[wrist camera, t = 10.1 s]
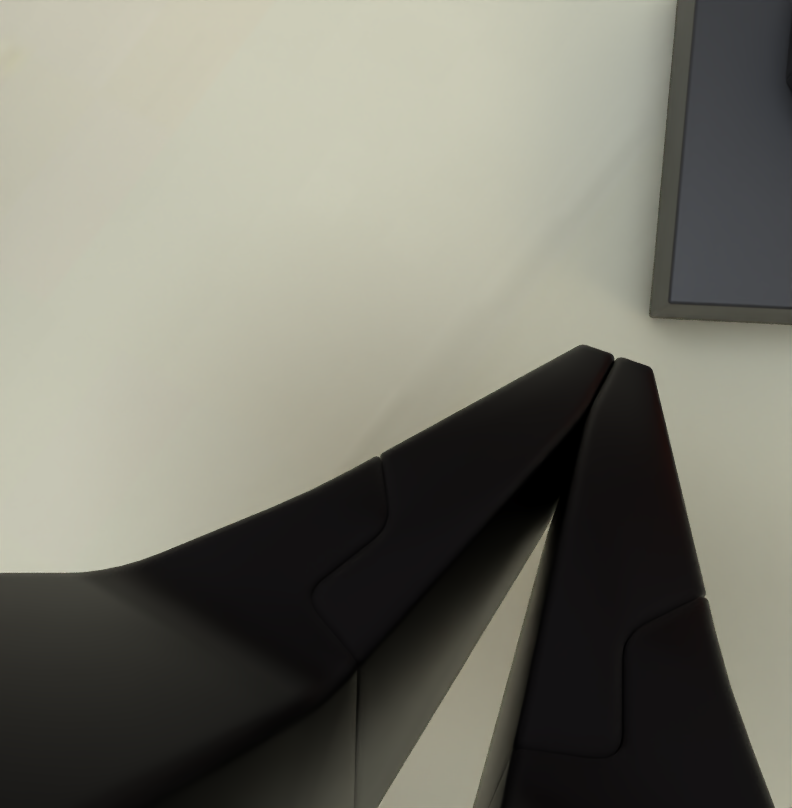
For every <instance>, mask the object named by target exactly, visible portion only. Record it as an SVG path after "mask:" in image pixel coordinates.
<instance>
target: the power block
mask: <svg viewBox="0 0 792 808" xmlns="http://www.w3.org/2000/svg"><path fill="white" fill-rule="evenodd" d="M649 315H650V317H652V318H667V319H686V320H706V321H726V322H746V323H766V324H785V325H792V0H677V11H676V22H675V33H674V44H673V55H672V66H671V78H670V89H669V100H668V111H667V122H666V134H665V145H664V156H663V167H662V178H661V190H660V201H659V212H658V223H657V234H656V245H655V257H654V268H653V279H652V290H651V301H650V313H649Z"/></svg>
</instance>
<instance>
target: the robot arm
mask: <svg viewBox="0 0 792 808" xmlns="http://www.w3.org/2000/svg"><path fill="white" fill-rule="evenodd" d="M553 514H554V515H553ZM552 516H553V518H552ZM551 518H552V521H551V524H550V528H549V531H548V534H547V537H546V541H545V544H544V548H543V552H542V555H541V559H540V563H539V566H538V570H537V574H536V577H535V581H534V585H533V588H532V592H531V596H530V599H529V603H528V607H527V611H526V614H525V618H524V622H523V625H522V629H521V633H520V636H519V640H518V644H517V647H516V651H515V655H514V658H513V662H512V666H511V670H510V673H509V677H508V681H507V684H506V688H505V692H504V695H503V699H502V703H501V706H500V710H499V714H498V717H497V721H496V725H495V729H494V732H493V736H492V740H491V743H490V747H489V751H488V754H487V758H486V762H485V765H484V769H483V773H482V776H481V780H480V784H479V788H478V791H477V795H476V799H475V802H474V806H473V808H775V807H774V804H773V802H772V799H771V796H770V794H769V791H768V788H767V786H766V783H765V780H764V778H763V775H762V772H761V770H760V767H759V764H758V762H757V759H756V757H755V754H754V751H753V749H752V746H751V743H750V740H749V737H748V735H747V732H746V729H745V726H744V723H743V720H742V717H741V714H740V712H739V709H738V706H737V703H736V700H735V697H734V694H733V691H732V689H731V686H730V682H729V679H728V675H727V671H726V668H725V664H724V661H723V657H722V653H721V650H720V646H719V643H718V639H717V635H716V631H715V627H714V623H713V619H712V615H711V610H710V606H709V602H708V600H707V599H706V598H704V597H705V595H706V591H705V587H704V583H703V578H702V574H701V570H700V566H699V562H698V557H697V553H696V549H695V545H694V541H693V537H692V532H691V528H690V524H689V520H688V516H687V511H686V507H685V503H684V499H683V495H682V490H681V486H680V482H679V478H678V474H677V469H676V465H675V461H674V457H673V453H672V448H671V444H670V440H669V436H668V432H667V428H666V423H665V419H664V415H663V411H662V407H661V402H660V398H659V394H658V390H657V386H656V381H655V377H654V373H653V370H652V369H651V368H650V367H649V366H646V365H643V364H640V363H637V362H634V361H631V360H628V359H626V358H622V357H621V358H617V359H616V360H615V361H614V356H613V355H612V354H610V353H608V352H605V351H602V350H599V349H596V348H593V347H590V346H587V345H579V346H577V347H575V348H573V349H571V350H570V351H568V352H566V353H564V354H562V355H560V356H559V357H557V358H555V359H553V360H551V361H550V362H548V363H546V364H544V365H542V366H540V367H539V368H537V369H535V370H533V371H531V372H529V373H528V374H526V375H524V376H522V377H520V378H518V379H517V380H515V381H513V382H511V383H509V384H508V385H506V386H504V387H502V388H500V389H498V390H497V391H495V392H493V393H491V394H489V395H487V396H486V397H484V398H482V399H480V400H478V401H476V402H475V403H473V404H471V405H469V406H467V407H465V408H464V409H462V410H460V411H458V412H456V413H455V414H453V415H451V416H449V417H447V418H445V419H444V420H442V421H440V422H438V423H436V424H434V425H433V426H431V427H429V428H427V429H425V430H423V431H422V432H420V433H418V434H416V435H414V436H412V437H411V438H409V439H407V440H405V441H403V442H402V443H400V444H398V445H396V446H394V447H392V448H391V449H389V450H387V451H385V452H383V453H382V454H381V456H380V458H379V457H377V456H376V457H373V458H372V459H370V460H368V461H366V462H364V463H363V464H361V465H359V466H357V467H355V468H353V469H352V470H350V471H348V472H346V473H344V474H342V475H340V476H338V477H336V478H334V479H332V480H330V481H328V482H326V483H324V484H322V485H320V486H318V487H316V488H314V489H312V490H310V491H308V492H305V493H303V494H301V495H299V496H296V497H294V498H292V499H290V500H287V501H285V502H283V503H281V504H278V505H276V506H274V507H271V508H269V509H267V510H264V511H262V512H260V513H257V514H255V515H252V516H250V517H247V518H245V519H242V520H240V521H238V522H235V523H233V524H230V525H228V526H225V527H223V528H220V529H218V530H216V531H213V532H211V533H208V534H206V535H203V536H201V537H198V538H196V539H194V540H191V541H189V542H186V543H184V544H181V545H179V546H177V547H174V548H172V549H169V550H167V551H164V552H162V553H159V554H157V555H154V556H151V557H148V558H146V559H143V560H140V561H137V562H133V563H130V564H126V565H123V566H119V567H114V568H109V569H104V570H98V571H90V572H80V573H0V808H377V807H378V806H379V804H380V802H381V801H382V799H383V797H384V796H385V794H386V792H387V791H388V789H389V787H390V786H391V784H392V782H393V781H394V779H395V778H396V776H397V774H398V773H399V771H400V769H401V768H402V766H403V764H404V763H405V761H406V759H407V758H408V756H409V754H410V753H411V751H412V749H413V748H414V746H415V745H416V743H417V741H418V740H419V738H420V736H421V735H422V733H423V731H424V730H425V728H426V726H427V725H428V723H429V721H430V720H431V718H432V716H433V715H434V713H435V712H436V710H437V708H438V707H439V705H440V703H441V702H442V700H443V698H444V697H445V695H446V693H447V692H448V690H449V688H450V687H451V685H452V683H453V682H454V680H455V679H456V677H457V675H458V674H459V672H460V670H461V669H462V667H463V665H464V664H465V662H466V660H467V659H468V657H469V655H470V654H471V652H472V650H473V649H474V647H475V646H476V644H477V642H478V641H479V639H480V637H481V636H482V634H483V632H484V631H485V629H486V627H487V626H488V624H489V622H490V621H491V619H492V617H493V616H494V614H495V613H496V611H497V609H498V608H499V606H500V604H501V603H502V601H503V599H504V598H505V596H506V594H507V593H508V591H509V589H510V588H511V586H512V585H513V583H514V581H515V580H516V578H517V576H518V575H519V573H520V571H521V570H522V568H523V566H524V565H525V563H526V561H527V560H528V558H529V556H530V555H531V553H532V552H533V550H534V548H535V547H536V545H537V543H538V542H539V540H540V538H541V536H542V535H543V533H544V531H545V529H546V528H547V526H548V524H549V522H550V520H551Z"/></svg>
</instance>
